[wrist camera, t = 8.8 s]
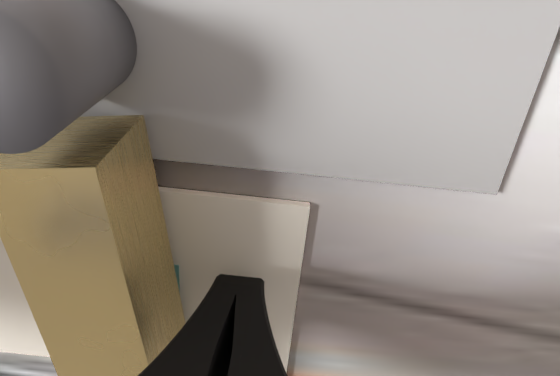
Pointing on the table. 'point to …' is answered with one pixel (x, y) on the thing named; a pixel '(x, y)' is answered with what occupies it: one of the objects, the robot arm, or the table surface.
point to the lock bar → (92, 246)
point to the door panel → (272, 111)
